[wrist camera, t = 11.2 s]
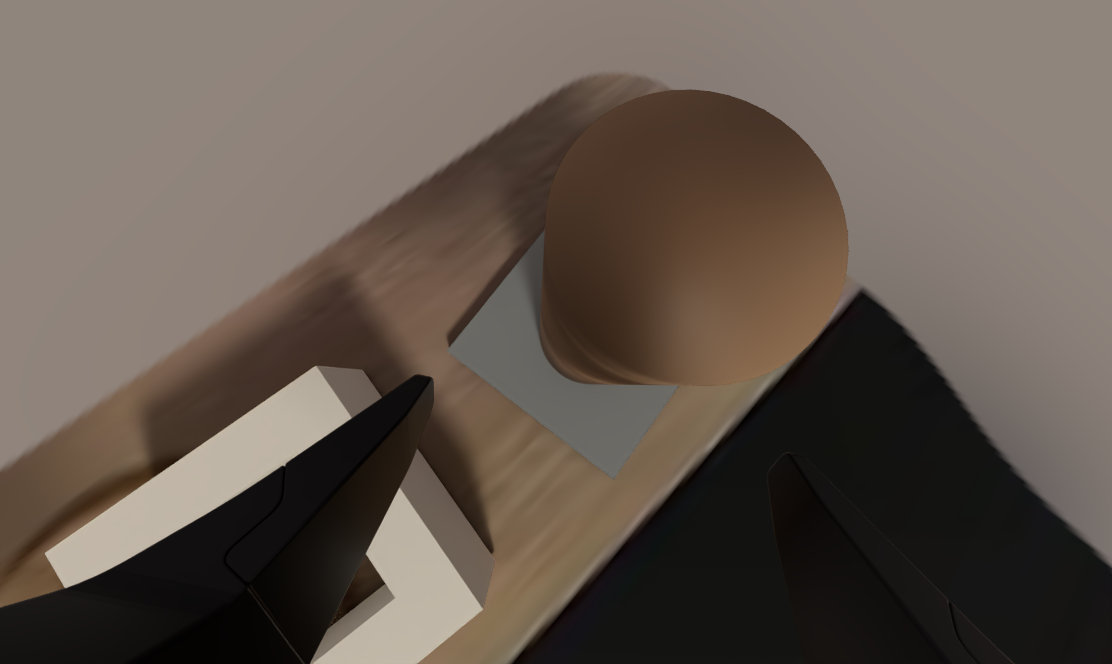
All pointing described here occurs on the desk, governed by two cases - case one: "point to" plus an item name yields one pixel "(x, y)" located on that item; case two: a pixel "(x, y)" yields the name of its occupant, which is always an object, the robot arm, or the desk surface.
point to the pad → (553, 374)
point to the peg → (688, 245)
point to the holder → (396, 552)
